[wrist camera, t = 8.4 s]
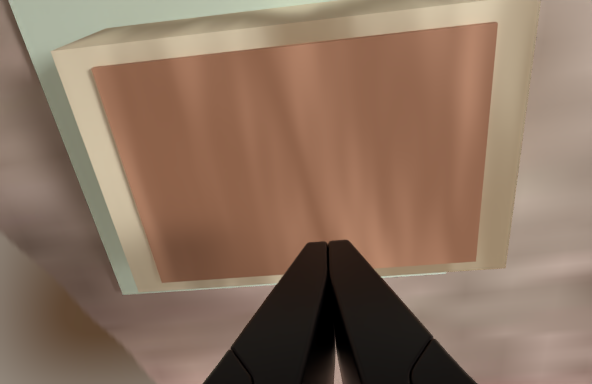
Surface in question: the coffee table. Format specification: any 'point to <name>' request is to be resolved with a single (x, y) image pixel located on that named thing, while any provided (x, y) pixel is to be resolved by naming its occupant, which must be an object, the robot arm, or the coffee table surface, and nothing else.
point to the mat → (40, 42)
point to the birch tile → (307, 135)
